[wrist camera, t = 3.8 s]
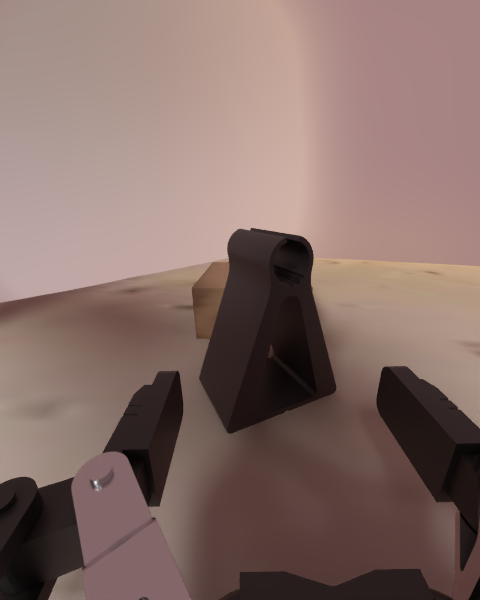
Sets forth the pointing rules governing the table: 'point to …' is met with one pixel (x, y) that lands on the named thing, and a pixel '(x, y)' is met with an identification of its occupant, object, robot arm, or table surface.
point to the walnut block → (209, 297)
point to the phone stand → (266, 332)
